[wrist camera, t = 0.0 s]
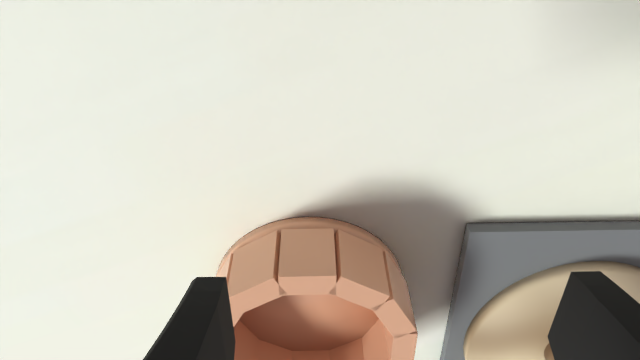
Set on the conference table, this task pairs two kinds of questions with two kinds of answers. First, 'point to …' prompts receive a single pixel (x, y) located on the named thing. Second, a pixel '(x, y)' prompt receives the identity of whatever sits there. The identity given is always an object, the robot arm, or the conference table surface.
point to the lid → (533, 312)
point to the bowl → (317, 294)
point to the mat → (526, 261)
